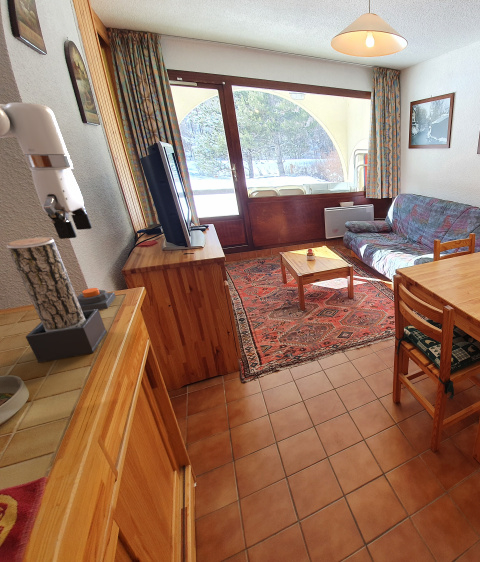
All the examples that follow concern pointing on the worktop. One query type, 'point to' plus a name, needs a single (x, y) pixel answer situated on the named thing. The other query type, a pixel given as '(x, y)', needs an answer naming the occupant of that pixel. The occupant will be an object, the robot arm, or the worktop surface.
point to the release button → (90, 292)
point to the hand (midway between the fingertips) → (77, 233)
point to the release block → (96, 301)
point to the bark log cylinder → (47, 282)
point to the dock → (67, 339)
